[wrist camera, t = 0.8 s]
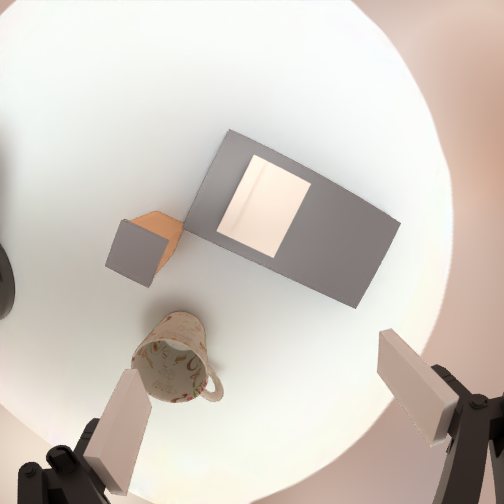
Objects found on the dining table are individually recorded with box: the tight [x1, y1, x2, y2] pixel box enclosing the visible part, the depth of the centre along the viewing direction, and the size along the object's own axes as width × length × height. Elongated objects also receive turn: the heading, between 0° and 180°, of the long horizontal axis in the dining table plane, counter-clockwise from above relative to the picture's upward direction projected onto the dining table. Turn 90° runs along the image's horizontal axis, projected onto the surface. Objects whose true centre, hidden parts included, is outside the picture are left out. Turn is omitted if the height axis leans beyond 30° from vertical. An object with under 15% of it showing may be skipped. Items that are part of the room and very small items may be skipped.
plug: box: [105, 211, 184, 288], centre depth 31 cm, size 4×4×12 cm
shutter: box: [217, 155, 311, 258], centre depth 32 cm, size 7×9×4 cm
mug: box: [131, 312, 224, 403], centre depth 35 cm, size 8×13×10 cm, turn 42°
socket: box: [182, 129, 401, 309], centre depth 36 cm, size 23×12×3 cm, turn 64°
